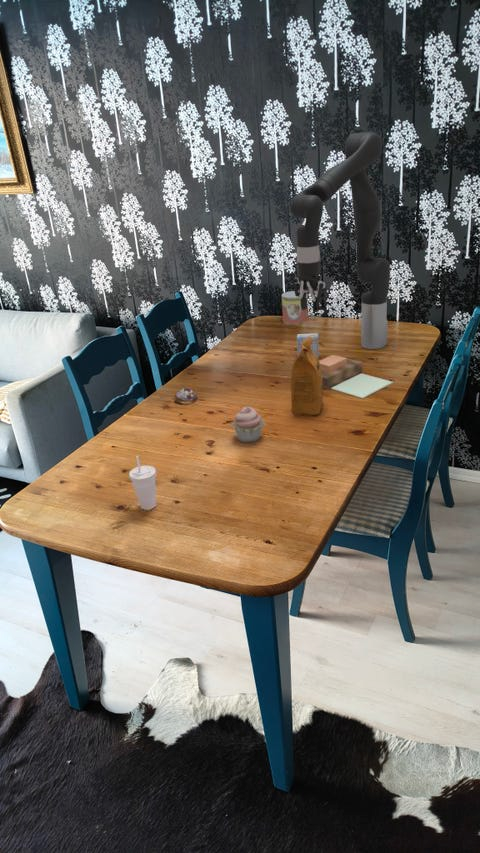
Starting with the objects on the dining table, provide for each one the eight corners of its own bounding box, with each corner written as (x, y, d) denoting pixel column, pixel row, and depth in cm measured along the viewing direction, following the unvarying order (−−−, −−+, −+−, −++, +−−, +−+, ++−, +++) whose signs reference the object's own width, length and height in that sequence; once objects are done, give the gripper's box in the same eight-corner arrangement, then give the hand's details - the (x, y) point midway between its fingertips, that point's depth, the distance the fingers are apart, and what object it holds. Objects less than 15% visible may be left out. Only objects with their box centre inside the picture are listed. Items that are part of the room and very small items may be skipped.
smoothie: (136, 500, 153) (126, 451, 147) (162, 497, 154) (153, 448, 147) (134, 515, 148) (124, 464, 141) (161, 512, 148) (152, 461, 142)
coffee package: (327, 401, 196) (326, 335, 187) (320, 418, 186) (318, 349, 176) (297, 399, 199) (294, 334, 190) (287, 416, 189) (284, 348, 179)
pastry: (193, 405, 203) (192, 391, 201) (172, 405, 204) (170, 391, 202) (200, 395, 210) (198, 382, 208) (179, 395, 211) (177, 381, 209)
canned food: (281, 325, 272) (280, 298, 267) (284, 317, 282) (282, 291, 277) (307, 324, 270) (306, 297, 265) (309, 316, 280) (308, 290, 275)
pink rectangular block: (333, 360, 217) (333, 354, 216) (346, 364, 213) (346, 358, 212) (316, 368, 212) (315, 362, 211) (329, 372, 208) (329, 366, 207)
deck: (335, 365, 223) (335, 355, 222) (362, 373, 215) (362, 362, 213) (301, 381, 213) (300, 370, 211) (327, 389, 205) (327, 378, 203)
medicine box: (318, 354, 235) (318, 332, 231) (318, 358, 231) (318, 336, 227) (297, 355, 236) (296, 333, 232) (297, 359, 232) (296, 337, 228)
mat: (361, 374, 214) (361, 373, 214) (392, 383, 205) (392, 381, 205) (330, 389, 205) (330, 387, 205) (362, 398, 196) (362, 397, 196)
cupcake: (242, 449, 173) (239, 416, 168) (227, 436, 180) (224, 405, 176) (271, 439, 176) (269, 407, 172) (255, 427, 184) (253, 397, 180)
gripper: (332, 259, 200) (333, 310, 208) (300, 255, 210) (302, 304, 218) (317, 264, 196) (318, 316, 203) (284, 259, 206) (287, 310, 213)
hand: (310, 310), depth 210 cm, fingers open, 4 cm apart
